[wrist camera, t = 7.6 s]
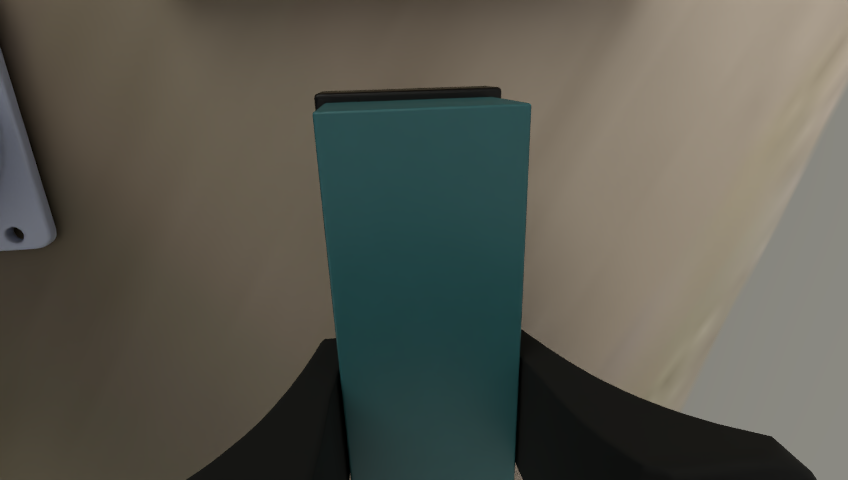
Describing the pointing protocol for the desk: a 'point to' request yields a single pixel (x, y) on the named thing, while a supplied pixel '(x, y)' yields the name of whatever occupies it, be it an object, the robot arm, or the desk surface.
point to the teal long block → (426, 275)
